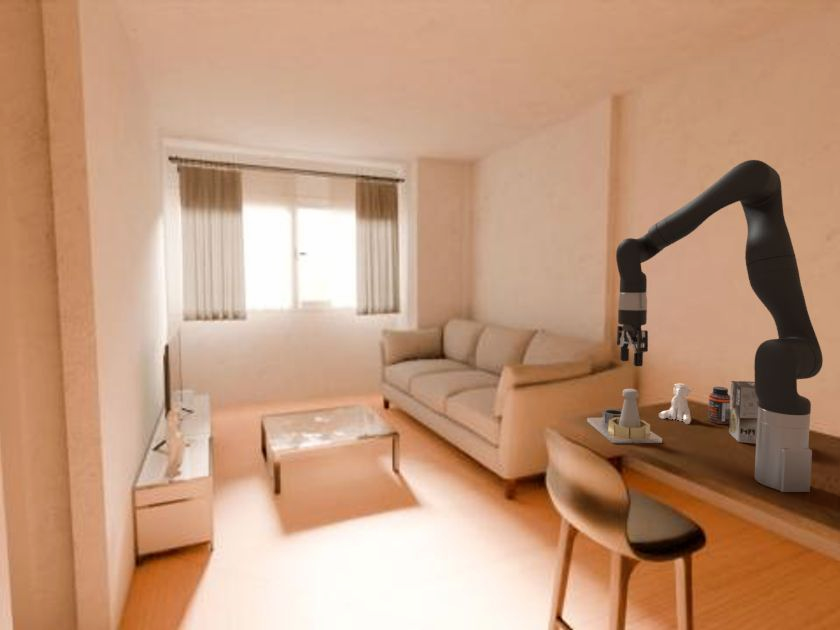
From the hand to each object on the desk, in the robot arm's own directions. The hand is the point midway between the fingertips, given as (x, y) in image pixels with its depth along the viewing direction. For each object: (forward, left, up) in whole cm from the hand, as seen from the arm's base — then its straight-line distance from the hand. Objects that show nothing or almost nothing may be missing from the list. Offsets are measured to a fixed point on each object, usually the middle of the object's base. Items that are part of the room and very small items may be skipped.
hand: (631, 363), depth 133 cm
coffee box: (-2, -33, -22) cm, 40 cm away
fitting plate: (+5, 0, -22) cm, 22 cm away
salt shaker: (0, 0, -21) cm, 21 cm away
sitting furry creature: (+17, -24, -22) cm, 37 cm away
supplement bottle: (+13, -35, -22) cm, 43 cm away
